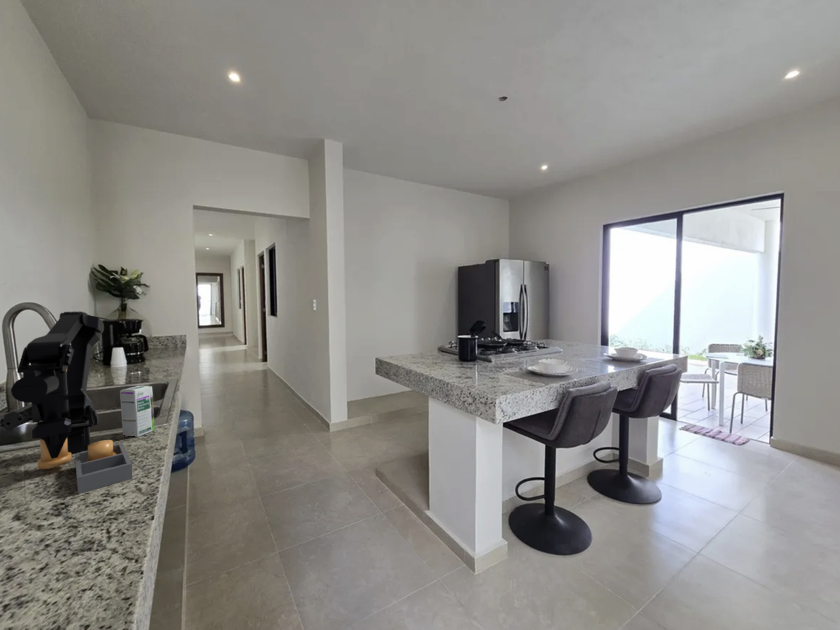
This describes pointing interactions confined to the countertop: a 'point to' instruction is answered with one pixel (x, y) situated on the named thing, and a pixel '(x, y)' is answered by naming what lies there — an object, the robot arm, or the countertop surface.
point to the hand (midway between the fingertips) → (54, 454)
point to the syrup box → (137, 410)
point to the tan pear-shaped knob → (49, 462)
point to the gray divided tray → (102, 466)
